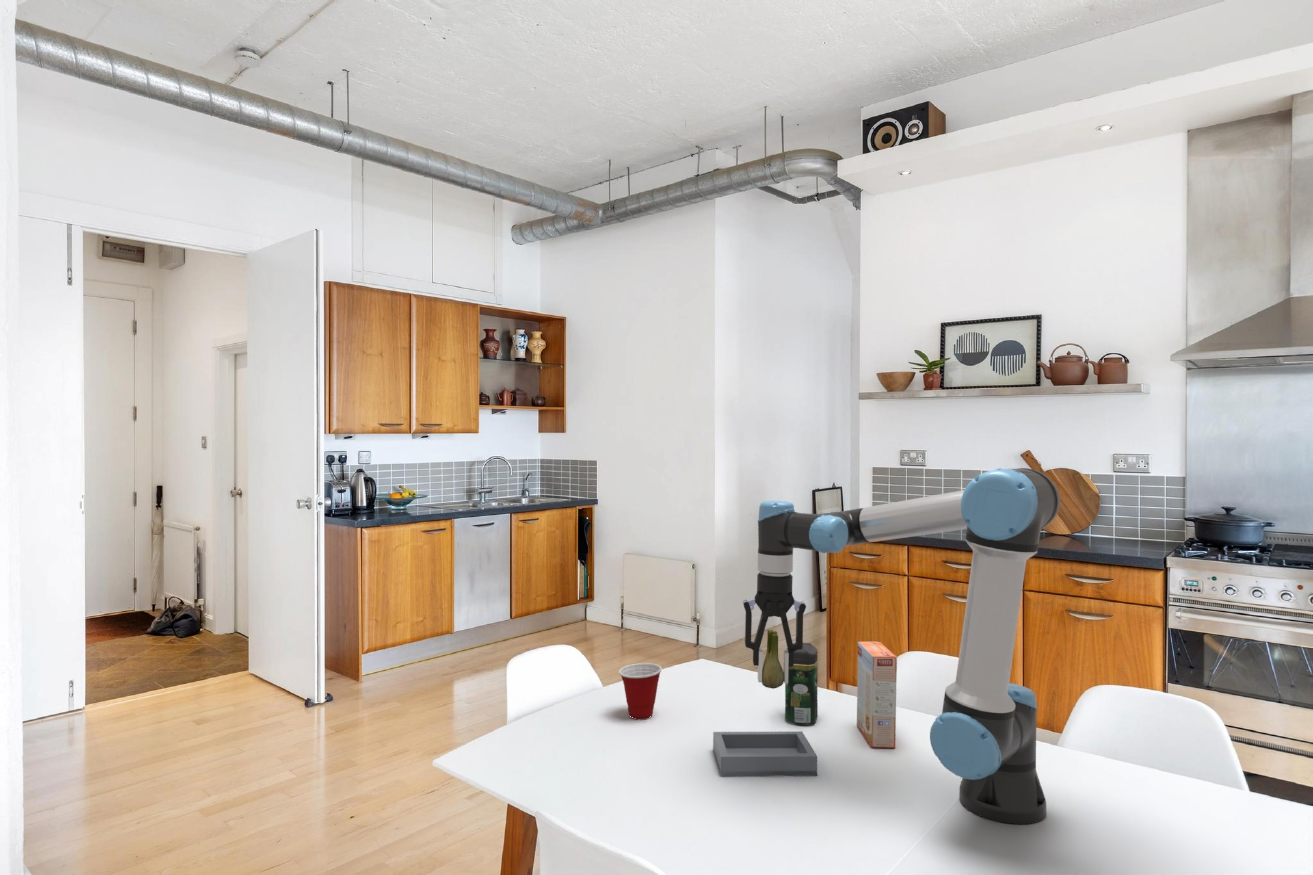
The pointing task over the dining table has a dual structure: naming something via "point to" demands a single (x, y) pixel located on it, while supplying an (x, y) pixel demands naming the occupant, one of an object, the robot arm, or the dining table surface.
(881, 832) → the dining table surface
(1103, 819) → the dining table surface
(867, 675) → the cracker box
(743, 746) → the bin
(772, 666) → the fennel bulb
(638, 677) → the plastic cup
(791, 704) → the coffee jar
